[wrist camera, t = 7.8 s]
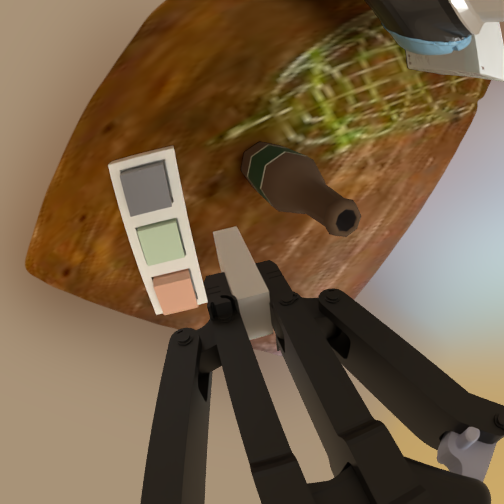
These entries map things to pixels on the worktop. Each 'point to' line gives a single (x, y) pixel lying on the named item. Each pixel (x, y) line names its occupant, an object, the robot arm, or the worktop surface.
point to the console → (156, 216)
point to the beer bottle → (298, 187)
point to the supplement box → (468, 57)
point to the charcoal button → (146, 188)
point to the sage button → (161, 241)
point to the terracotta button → (175, 291)
